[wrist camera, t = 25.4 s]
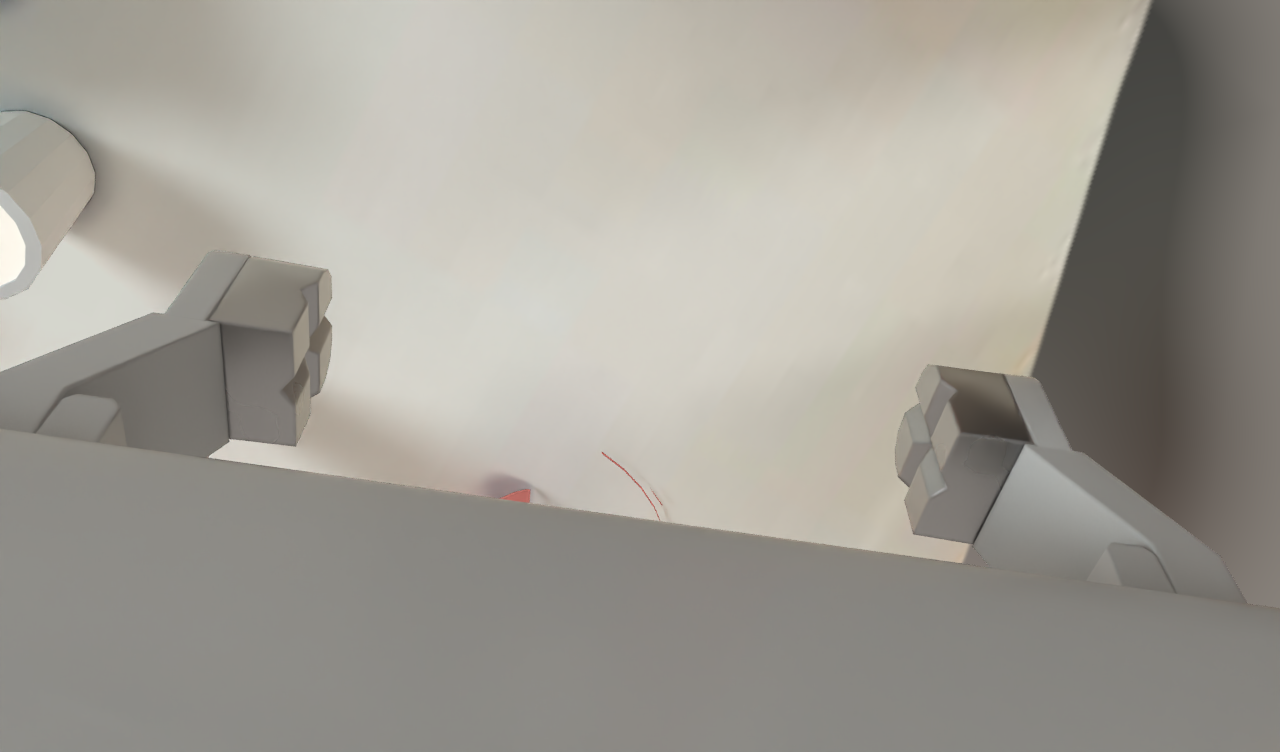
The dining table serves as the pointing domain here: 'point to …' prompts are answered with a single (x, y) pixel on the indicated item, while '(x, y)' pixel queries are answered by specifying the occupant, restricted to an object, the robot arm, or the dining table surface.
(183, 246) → the dining table surface
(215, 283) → the robot arm
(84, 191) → the shot glass
